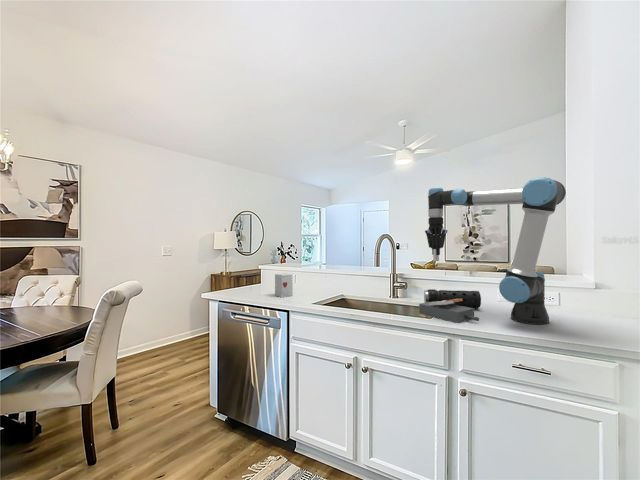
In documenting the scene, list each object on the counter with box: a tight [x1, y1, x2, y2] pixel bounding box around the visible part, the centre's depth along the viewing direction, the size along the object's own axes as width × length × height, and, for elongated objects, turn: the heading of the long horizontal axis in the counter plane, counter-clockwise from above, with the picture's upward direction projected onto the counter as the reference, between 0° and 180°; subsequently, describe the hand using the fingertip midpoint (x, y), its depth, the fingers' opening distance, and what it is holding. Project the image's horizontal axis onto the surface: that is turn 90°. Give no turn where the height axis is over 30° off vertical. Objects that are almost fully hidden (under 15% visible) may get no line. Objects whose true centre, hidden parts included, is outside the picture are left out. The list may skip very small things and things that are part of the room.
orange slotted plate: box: [443, 298, 463, 302], centre depth 163 cm, size 10×6×1 cm, turn 32°
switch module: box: [418, 301, 480, 324], centre depth 158 cm, size 28×13×6 cm, turn 32°
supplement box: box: [274, 272, 293, 298], centre depth 220 cm, size 9×9×15 cm
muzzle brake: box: [423, 288, 482, 310], centre depth 178 cm, size 10×28×10 cm, turn 78°
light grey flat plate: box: [429, 301, 454, 305], centre depth 159 cm, size 10×6×1 cm, turn 32°
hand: (436, 261), depth 174 cm, fingers closed
